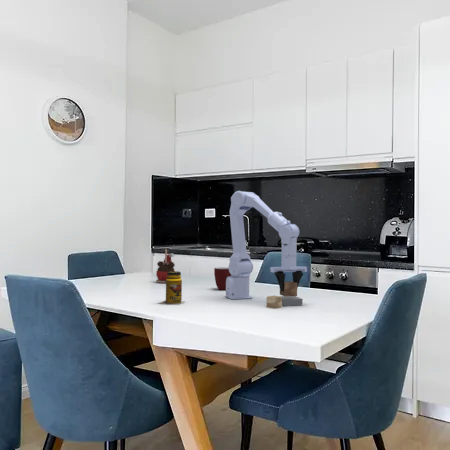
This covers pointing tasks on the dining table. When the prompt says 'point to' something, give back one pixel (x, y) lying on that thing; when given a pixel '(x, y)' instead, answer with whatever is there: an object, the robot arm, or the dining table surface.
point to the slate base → (291, 301)
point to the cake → (165, 267)
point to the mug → (221, 277)
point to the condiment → (173, 288)
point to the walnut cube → (289, 289)
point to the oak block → (274, 302)
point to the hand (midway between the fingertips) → (288, 290)
